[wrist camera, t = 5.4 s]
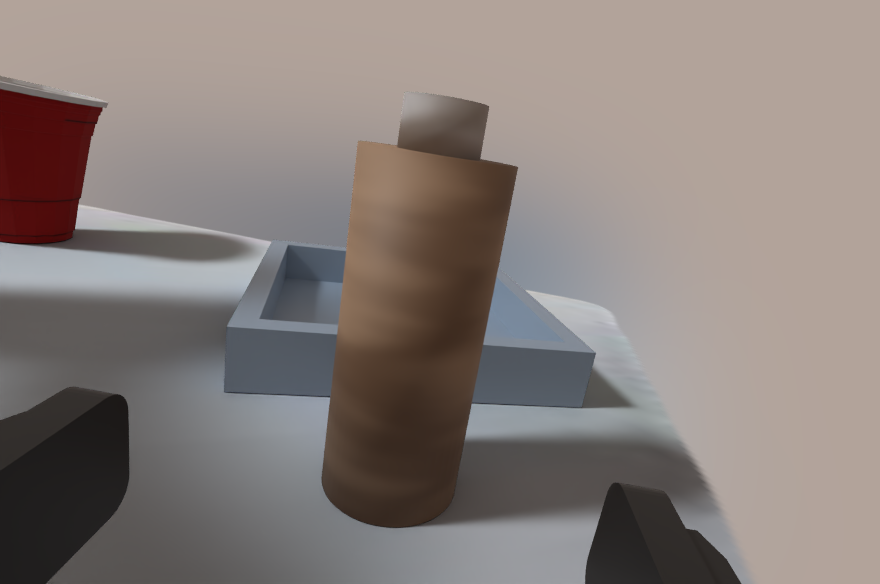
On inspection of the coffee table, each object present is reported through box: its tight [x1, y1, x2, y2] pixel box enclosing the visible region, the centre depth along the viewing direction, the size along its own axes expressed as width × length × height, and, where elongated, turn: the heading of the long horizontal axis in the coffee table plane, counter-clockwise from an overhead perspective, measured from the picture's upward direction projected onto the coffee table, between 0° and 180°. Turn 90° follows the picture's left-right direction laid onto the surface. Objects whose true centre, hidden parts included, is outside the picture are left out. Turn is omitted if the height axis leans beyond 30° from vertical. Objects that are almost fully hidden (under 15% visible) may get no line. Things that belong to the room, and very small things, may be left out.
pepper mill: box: [322, 92, 518, 527], centre depth 17 cm, size 5×5×14 cm
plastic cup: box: [0, 76, 108, 243], centre depth 40 cm, size 11×11×12 cm
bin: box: [224, 240, 596, 407], centre depth 33 cm, size 18×18×3 cm
